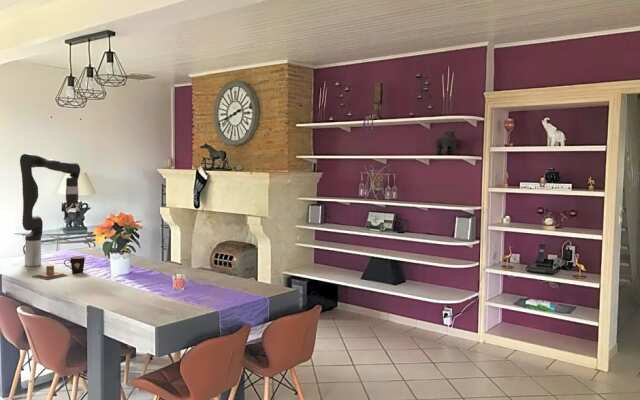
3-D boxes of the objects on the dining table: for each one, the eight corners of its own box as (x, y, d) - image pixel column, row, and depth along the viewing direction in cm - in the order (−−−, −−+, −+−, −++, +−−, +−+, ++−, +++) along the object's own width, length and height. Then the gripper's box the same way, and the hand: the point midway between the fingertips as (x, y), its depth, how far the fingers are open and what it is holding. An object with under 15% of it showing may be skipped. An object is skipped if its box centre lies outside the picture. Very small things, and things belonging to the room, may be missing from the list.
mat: (32, 277, 325) (32, 276, 325) (52, 273, 338) (52, 272, 338) (47, 279, 319) (47, 278, 319) (67, 275, 332) (67, 274, 332)
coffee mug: (87, 271, 345) (87, 256, 344) (80, 274, 337) (80, 258, 336) (70, 270, 346) (70, 255, 346) (63, 273, 338) (63, 257, 337)
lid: (36, 275, 326) (36, 266, 325) (52, 272, 336) (52, 263, 335) (48, 278, 321) (48, 268, 321) (63, 275, 331) (63, 265, 330)
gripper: (77, 192, 359) (77, 216, 360) (58, 193, 346) (58, 217, 347) (85, 193, 355) (85, 217, 357) (66, 193, 343) (66, 218, 344)
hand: (72, 217), depth 352 cm, fingers open, 8 cm apart
